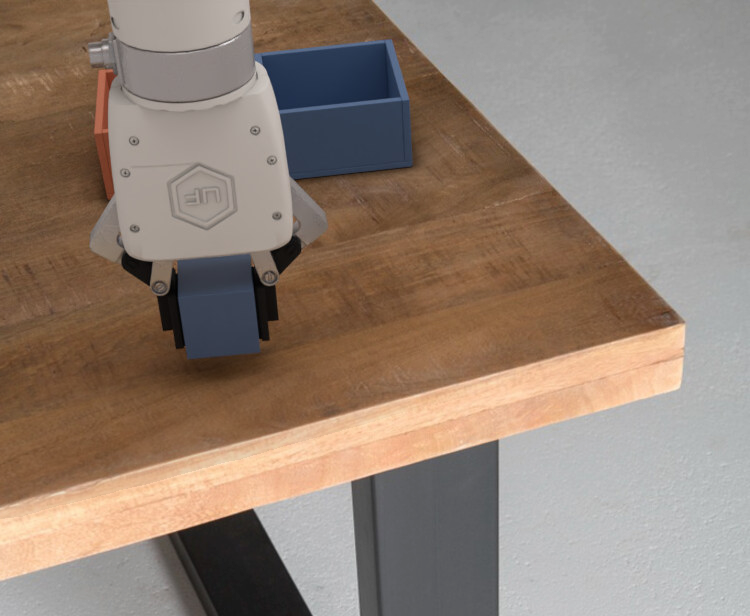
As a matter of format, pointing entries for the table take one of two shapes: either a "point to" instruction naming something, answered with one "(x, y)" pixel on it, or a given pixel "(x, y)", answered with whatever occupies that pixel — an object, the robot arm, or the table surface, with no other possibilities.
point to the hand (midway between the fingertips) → (222, 330)
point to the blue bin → (341, 108)
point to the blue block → (218, 306)
